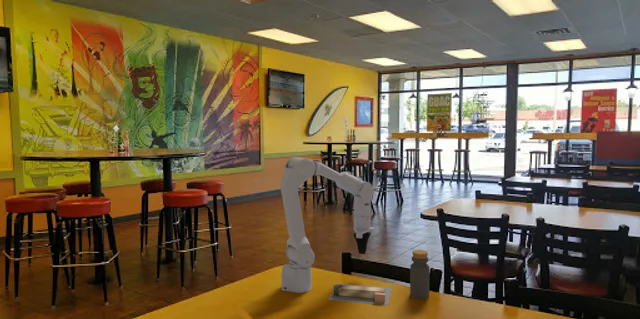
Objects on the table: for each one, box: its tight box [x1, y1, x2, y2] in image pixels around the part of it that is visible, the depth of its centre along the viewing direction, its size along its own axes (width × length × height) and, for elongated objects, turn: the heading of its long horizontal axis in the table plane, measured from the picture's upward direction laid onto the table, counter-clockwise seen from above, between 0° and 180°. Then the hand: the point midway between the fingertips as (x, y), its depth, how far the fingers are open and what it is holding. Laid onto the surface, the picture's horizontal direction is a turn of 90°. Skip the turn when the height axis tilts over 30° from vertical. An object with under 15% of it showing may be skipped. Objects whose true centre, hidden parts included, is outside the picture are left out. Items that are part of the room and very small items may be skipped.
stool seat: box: [328, 283, 392, 306], centre depth 138 cm, size 18×14×1 cm
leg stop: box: [375, 292, 385, 303], centre depth 132 cm, size 3×2×2 cm, turn 76°
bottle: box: [409, 249, 431, 300], centre depth 136 cm, size 6×6×15 cm
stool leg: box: [332, 283, 385, 299], centre depth 136 cm, size 16×3×2 cm, turn 76°
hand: (362, 253), depth 153 cm, fingers closed
